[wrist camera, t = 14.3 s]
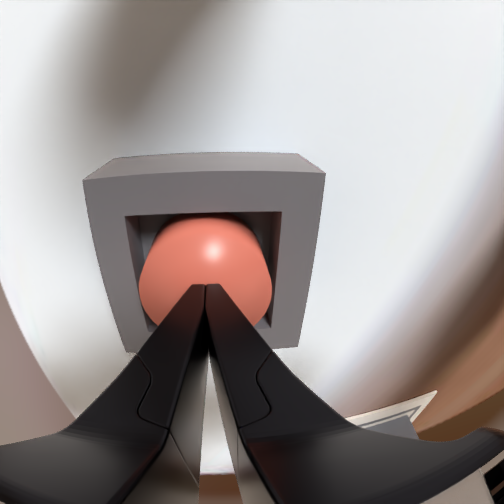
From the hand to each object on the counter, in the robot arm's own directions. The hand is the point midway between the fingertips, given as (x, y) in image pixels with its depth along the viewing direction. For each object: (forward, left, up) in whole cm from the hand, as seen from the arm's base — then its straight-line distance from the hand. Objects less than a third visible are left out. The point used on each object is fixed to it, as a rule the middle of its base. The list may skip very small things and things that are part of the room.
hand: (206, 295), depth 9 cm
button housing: (0, 0, -4) cm, 4 cm away
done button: (0, 0, -2) cm, 2 cm away
